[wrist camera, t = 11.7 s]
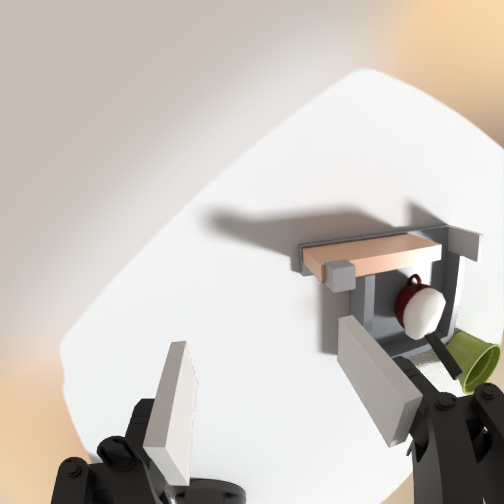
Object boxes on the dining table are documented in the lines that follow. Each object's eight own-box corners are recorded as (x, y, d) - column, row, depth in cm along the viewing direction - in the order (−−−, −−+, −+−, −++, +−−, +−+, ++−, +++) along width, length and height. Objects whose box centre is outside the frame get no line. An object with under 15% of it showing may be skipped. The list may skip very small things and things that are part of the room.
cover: (303, 265, 29) (329, 293, 22) (302, 247, 29) (329, 270, 21) (409, 248, 30) (452, 266, 22) (410, 232, 30) (453, 247, 22)
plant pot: (434, 377, 38) (459, 404, 30) (435, 339, 36) (467, 366, 27) (469, 351, 38) (496, 374, 30) (472, 312, 36) (505, 333, 27)
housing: (305, 366, 34) (319, 401, 27) (298, 244, 30) (318, 262, 23) (436, 328, 35) (463, 350, 29) (447, 224, 31) (483, 234, 24)
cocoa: (395, 267, 31) (458, 299, 19) (431, 270, 32) (493, 298, 20) (378, 337, 33) (426, 388, 21) (413, 335, 33) (463, 378, 22)
